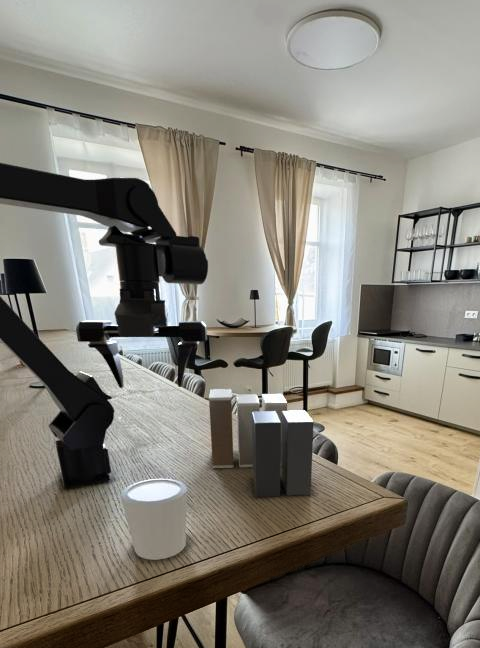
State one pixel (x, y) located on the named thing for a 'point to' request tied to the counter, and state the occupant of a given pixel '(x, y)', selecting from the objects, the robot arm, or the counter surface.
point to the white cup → (156, 517)
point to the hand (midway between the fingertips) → (151, 387)
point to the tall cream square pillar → (221, 428)
